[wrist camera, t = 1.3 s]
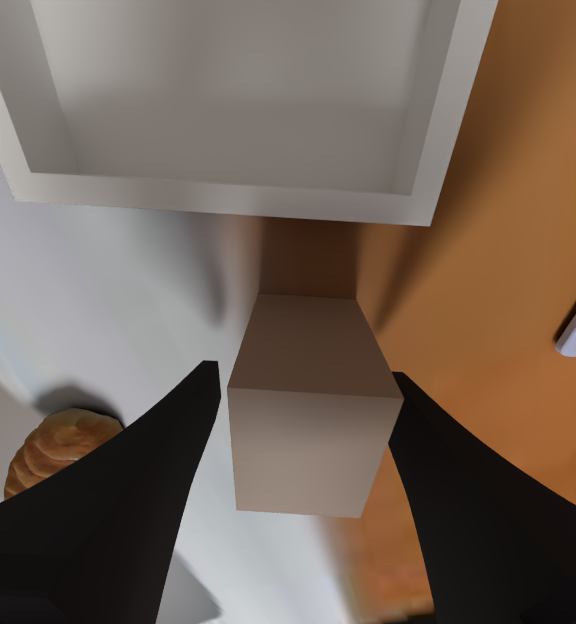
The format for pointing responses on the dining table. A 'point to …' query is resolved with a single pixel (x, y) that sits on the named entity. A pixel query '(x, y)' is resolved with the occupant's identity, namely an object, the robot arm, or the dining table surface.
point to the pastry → (57, 446)
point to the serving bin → (238, 104)
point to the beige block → (309, 407)
